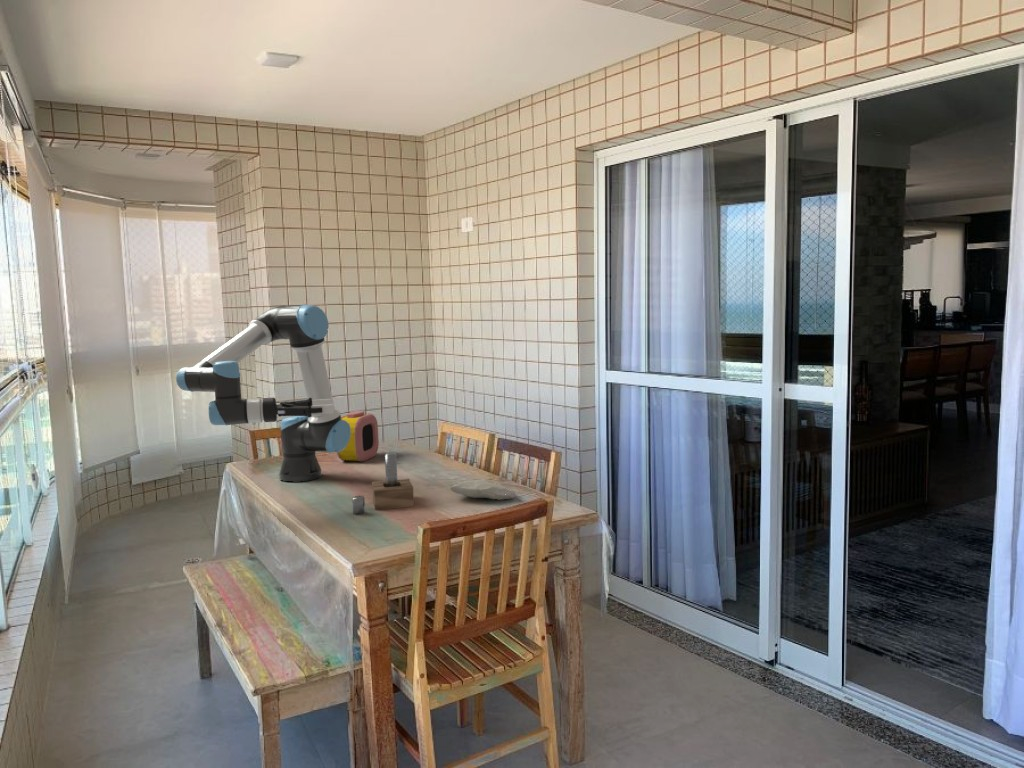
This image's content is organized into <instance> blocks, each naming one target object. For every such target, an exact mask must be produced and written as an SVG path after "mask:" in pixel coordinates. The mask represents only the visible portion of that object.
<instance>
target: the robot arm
mask: <svg viewBox="0 0 1024 768" xmlns="http://www.w3.org/2000/svg"><path fill="white" fill-rule="evenodd" d="M329 325H330V324H329V320H328V316H327V315H326V313H325V312H324V310H323V309H322V308H320V306H317V305H311V304H295V305H293V304H292V305H279V306H274V307H272V308H270V309H268V310H266V311H265V312H263V313H261V314H259V315H258V316H256V317H255V318H253V319H252V320H250V321H249V322H248V324H247V327H246V328H245V329H244V330H242V331H240V332H238V334H237V335H235V336H233V338H232V339H230V340H228V341H227V342H225V343H224V344H222V345H221V346H220V347H219V348H217V349H216V350H214V351H213V352H211V353H210V354H209V355H207V356H206V357H205V358H203V359H202V360H200V361H199V362H198V363H196V364H195V365H193V366H185V367H182V368H180V369H179V370H178V371H177V373H176V377H175V380H176V384H177V386H178V388H180V389H181V390H182V391H185V392H186V391H187V392H191V393H193V392H209V393H214V394H215V395H214V397H215V400H213V401H209V404H208V419H209V422H210V424H211V425H212V426H232V425H233V426H234V425H244V424H245V425H246V424H251V425H253V426H255V425H256V424H258V423H260V424H261V423H262V422H264V423H274V422H277V421H278V420H277V419H278V417H286V418H283V419H282V420H281V422H280V438H281V448H282V462H281V465H280V470H279V474H278V476H279V480H280V479H281V480H283V481H282V482H285V481H293V482H292V483H299V482H301V481H302V482H309V481H314V480H317V479H319V478H321V477H322V476H323V473H322V472H323V471H322V468H321V465H320V463H319V460H318V458H317V456H316V455H317V454H316V452H321V453H322V452H323V453H331V454H332V453H337V452H340V451H342V450H343V449H344V448H345V447H346V446H347V444H348V442H349V440H350V435H351V429H350V425H349V423H348V422H347V421H345V420H342V419H341V417H342V415H341V412H340V411H339V410H337V409H336V407H335V404H334V400H333V398H334V397H333V395H332V390H331V385H330V381H329V375H328V371H327V366H326V363H325V358H324V357H325V356H324V353H323V348H322V345H323V344H324V342H325V337H326V336H327V334H328V332H329V331H328V329H329ZM279 340H289V345H290V348H291V349H293V350H294V351H295V352H296V355H297V360H298V363H299V368H300V373H301V377H302V381H303V385H304V390H305V395H306V399H303V400H294V401H282V402H279V404H277V399H276V398H275V397H264V398H260V397H257V398H246V399H244V398H242V385H241V373H240V372H241V371H240V366H239V363H240V362H242V361H243V360H244V359H246V358H247V357H248V356H249V355H251V354H252V353H255V351H257V350H258V349H259V348H260V347H262V346H267V345H269V344H271V342H274V341H279ZM281 480H280V481H281Z"/></svg>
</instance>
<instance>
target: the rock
mask: <svg viewBox="0 0 1024 768" xmlns="http://www.w3.org/2000/svg"><path fill="white" fill-rule="evenodd" d="M450 490H451V491H452V492H454V493H455V494H459V495H463V496H464V497H465V496H466V497H468V498H471V497H473V498H472V499H476V498H477V499H478V498H485V499H486V498H487V499H492V500H495V499H497V500H496V501H502V500H501V499H507V500H511V499H513V498H515V497H516V496H517V494H516V491H515V490H513V489H510V488H508V487H506V486H502V485H500V484H498V483H496V482H493V481H490V480H488V479H484V478H482V479H475V480H469V481H468V480H466V481H465V480H464V481H461V482H460V483H456V484H453V485H452V486H451V487H450ZM505 494H506V495H505ZM469 496H470V497H469Z"/></svg>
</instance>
